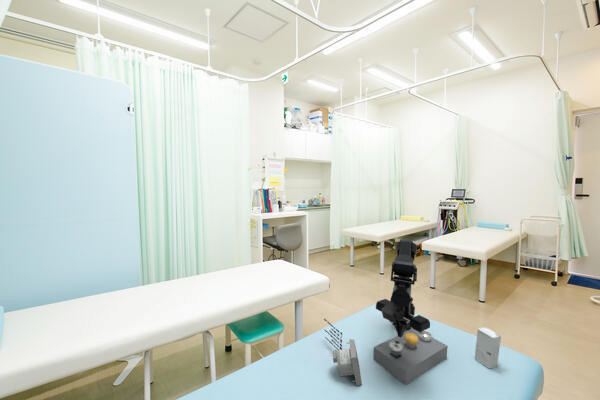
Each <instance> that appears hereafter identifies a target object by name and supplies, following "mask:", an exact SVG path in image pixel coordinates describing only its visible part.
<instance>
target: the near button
mask: <svg viewBox="0 0 600 400" xmlns="http://www.w3.org/2000/svg"><path fill="white" fill-rule="evenodd" d="M389 349H390V350H391V355H392V356H393V357H395V358H396V359H397V358H399V357H400V356H401V353H402V349H403V345H402V343H401V342H399V341H396V340H392V341H390V345H389Z"/></svg>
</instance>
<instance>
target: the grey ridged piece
mask: <svg viewBox="0 0 600 400" xmlns="http://www.w3.org/2000/svg"><path fill="white" fill-rule="evenodd" d="M323 320H324V321H325V322H327V324H328V325H330V326H331V330H329V332H328V331H327V330H326V329H324V332H325V333H327V334H328V335H329V336H330V337H331V338H332V339H331V338H330V339H331V341H330V339H329V338H327V337H326V336H325V337H324V338H325V339H326V340H327V341H328V343H330V344H331V345H332V346H333V347H334V348H335V349H334V351H335V352H332V354H333V355H332V360H333V361H332V362H333V364H335V363H337V370H338V374H339V377H347V376H354V379H355V380H351V383H356V386H361V385H363V382H362V375H361V368H360V362H359V357H358V353H357V352H358V351H357V348H356V343H355V339H352V338H349V340H348V341H347V342H345V344H346V345H347V344H348V345H349V348H344V349H343V348H342V347H343V340H342V338H343V333H342V332H340V331H339V330H338V329H337V328H336V327H335V326H333V324H331V323H330V321H328V320H327V318H323ZM332 327H333V328H332ZM336 335H337V336H336ZM340 335H341V336H340ZM337 343H338V344H337Z"/></svg>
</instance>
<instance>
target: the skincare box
mask: <svg viewBox="0 0 600 400" xmlns="http://www.w3.org/2000/svg"><path fill="white" fill-rule="evenodd" d="M501 339H502V336H501V335H499V333H496V332H495V331H493V330H491V329H489V328H488V327H487V326H486V327H485V326H484V327H480V328H478V329H477V333H476V342H475V343H476V344H475V351H474V359H475V360H476V361H477V362H479V363H480V364H482V365H483V366H484V367H486V368H488V369H493V368H497V367H498V362H499V353H500V347H501V341H502V340H501Z"/></svg>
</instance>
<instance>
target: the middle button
mask: <svg viewBox="0 0 600 400" xmlns="http://www.w3.org/2000/svg"><path fill="white" fill-rule="evenodd" d="M405 341H406V347H408V348H409V349H411V350H414V349H415V348H416V345H417V344H418V337H417V336H416V335H415V334H413V333H406V334H405Z"/></svg>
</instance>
